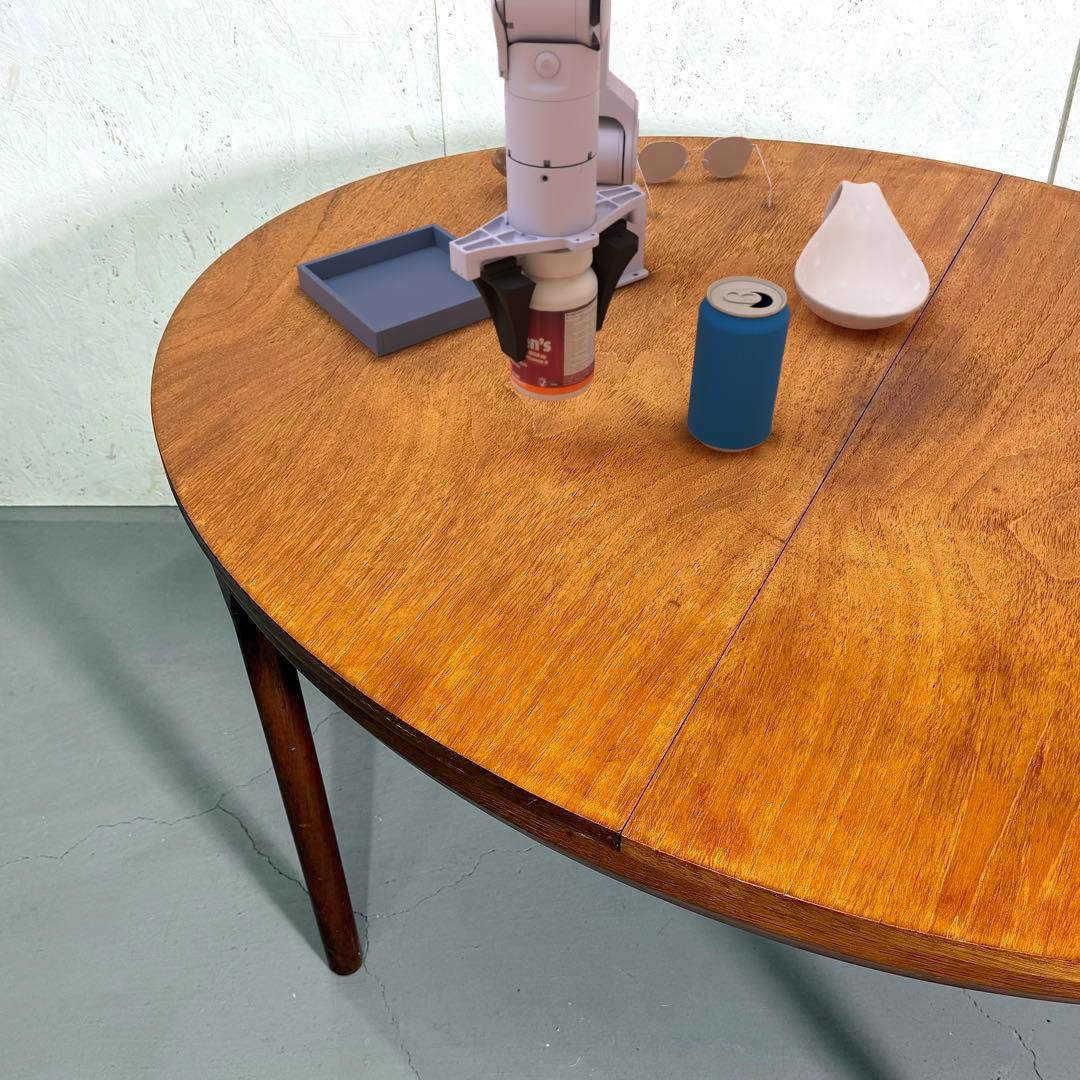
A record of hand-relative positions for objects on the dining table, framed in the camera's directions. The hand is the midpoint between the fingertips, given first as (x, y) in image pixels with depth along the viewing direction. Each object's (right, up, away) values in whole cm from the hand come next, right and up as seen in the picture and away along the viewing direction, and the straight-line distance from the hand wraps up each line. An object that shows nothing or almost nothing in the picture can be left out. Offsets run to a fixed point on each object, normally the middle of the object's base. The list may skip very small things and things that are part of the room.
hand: (551, 340), depth 75 cm
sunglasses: (+17, +23, +41) cm, 50 cm away
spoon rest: (+29, +10, +26) cm, 40 cm away
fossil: (-1, +24, +41) cm, 48 cm away
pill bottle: (0, -3, +2) cm, 4 cm away
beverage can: (+14, -6, +8) cm, 17 cm away
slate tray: (-13, +9, +24) cm, 29 cm away
